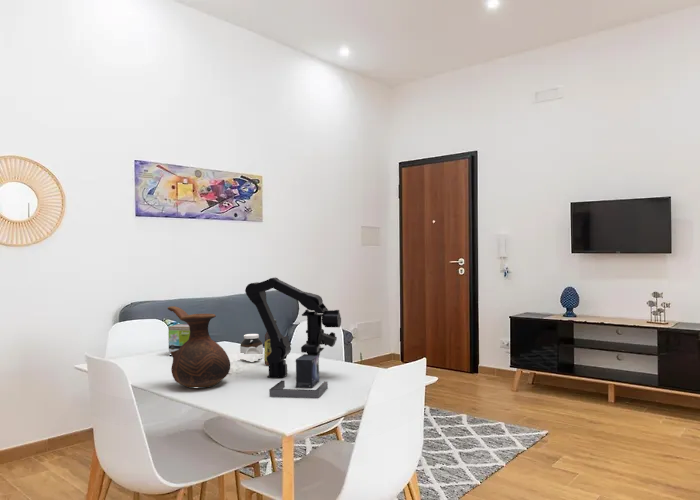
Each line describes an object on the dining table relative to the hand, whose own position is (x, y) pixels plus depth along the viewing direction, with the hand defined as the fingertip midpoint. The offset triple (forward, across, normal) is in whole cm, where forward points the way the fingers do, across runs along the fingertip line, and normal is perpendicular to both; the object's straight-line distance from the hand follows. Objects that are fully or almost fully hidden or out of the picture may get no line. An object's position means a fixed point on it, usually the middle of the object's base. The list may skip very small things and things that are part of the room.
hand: (315, 366), depth 216 cm
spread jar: (+4, +30, +38) cm, 49 cm away
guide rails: (+4, -22, 0) cm, 23 cm away
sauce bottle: (+4, +22, +26) cm, 35 cm away
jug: (+4, -16, +41) cm, 44 cm away
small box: (+4, -12, 0) cm, 12 cm away
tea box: (+5, +42, +77) cm, 88 cm away
